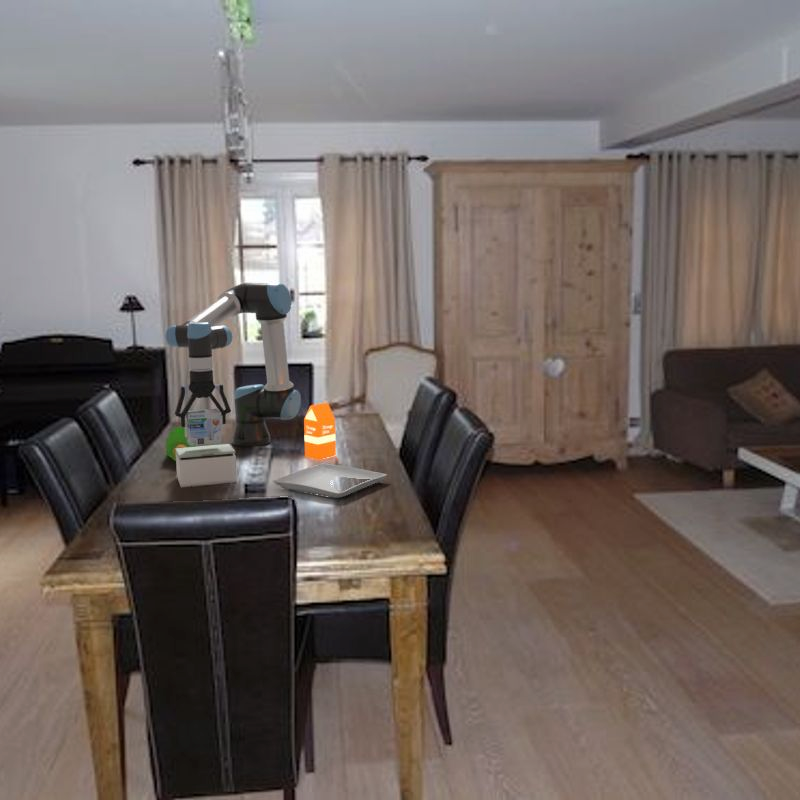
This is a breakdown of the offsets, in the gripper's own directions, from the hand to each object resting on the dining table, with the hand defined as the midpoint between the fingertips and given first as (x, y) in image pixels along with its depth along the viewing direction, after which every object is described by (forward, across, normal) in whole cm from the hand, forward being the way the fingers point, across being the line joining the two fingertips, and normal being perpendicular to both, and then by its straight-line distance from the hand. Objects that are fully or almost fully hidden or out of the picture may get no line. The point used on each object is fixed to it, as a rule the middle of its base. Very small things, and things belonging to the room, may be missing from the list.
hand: (204, 435), depth 270 cm
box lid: (+6, 0, 0) cm, 6 cm away
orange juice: (+15, -44, -17) cm, 50 cm away
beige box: (+15, 0, 0) cm, 15 cm away
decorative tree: (+15, +4, -36) cm, 40 cm away
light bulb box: (+3, 0, 0) cm, 3 cm away
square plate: (+16, -37, +23) cm, 46 cm away
